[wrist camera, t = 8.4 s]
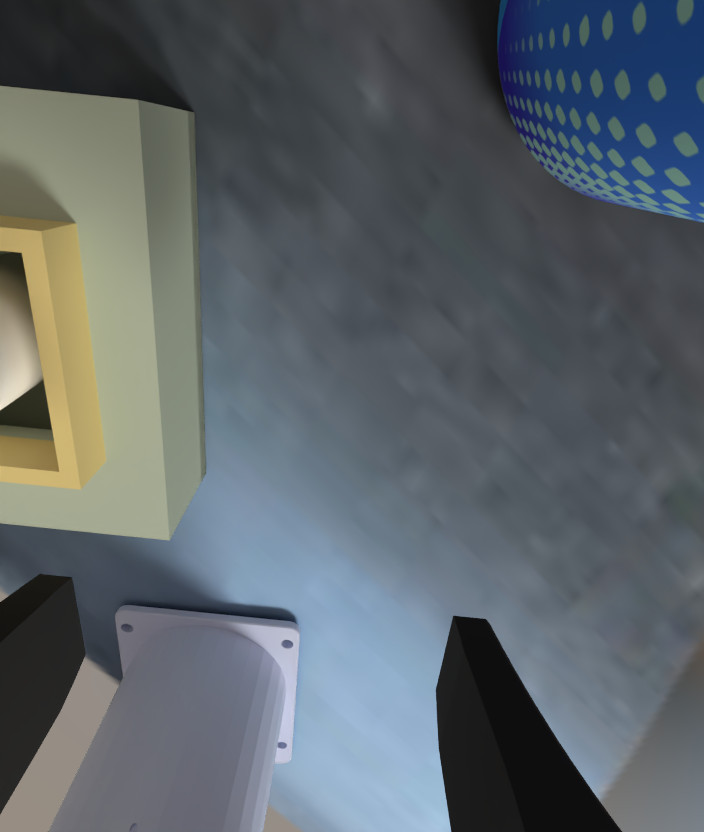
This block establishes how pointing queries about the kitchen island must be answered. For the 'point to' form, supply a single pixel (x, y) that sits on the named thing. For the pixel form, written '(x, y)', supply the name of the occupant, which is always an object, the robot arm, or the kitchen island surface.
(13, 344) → the pellet
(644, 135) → the beer can
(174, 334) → the square stacking base
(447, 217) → the kitchen island surface
